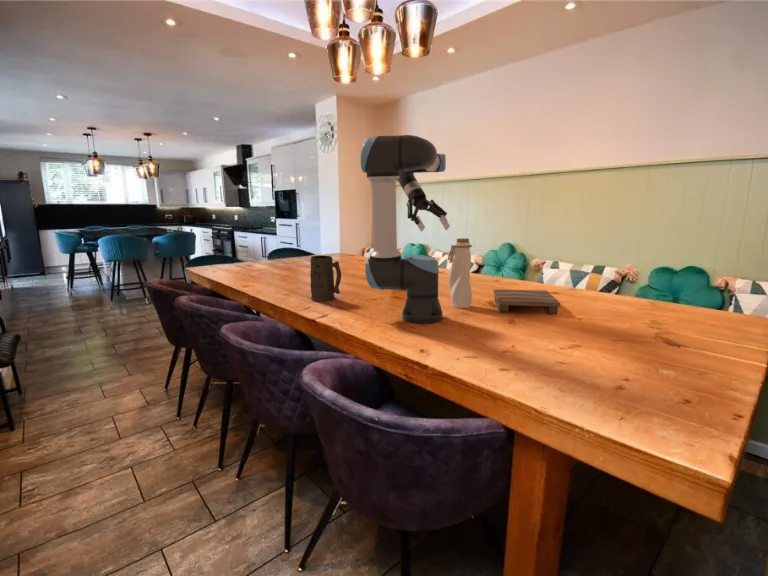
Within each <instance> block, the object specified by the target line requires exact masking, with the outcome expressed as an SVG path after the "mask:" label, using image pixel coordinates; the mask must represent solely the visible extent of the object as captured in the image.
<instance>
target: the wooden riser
mask: <svg viewBox="0 0 768 576" xmlns="http://www.w3.org/2000/svg"><path fill="white" fill-rule="evenodd" d="M493 295H494V302H495V306H496V307H497V309H498V311H499V313H500V314H509V306H525V307H526V306H528V307H529V306H530V307H531V306H532V307H535V306H536V307H541V308H542V309H543V310H544V311H545V312H546V314H547V315H550V316H552V315H553V316H554V315H556V316H557V315H558V307H561V302H560V301H559V300H558V299H557V298H556V297H555V296H553V295H552V294H551V292H549V291H548V290H546V289H545V290H543V289H542V290H541V289H535V290H534V289H532V290H531V289H500V288H499V289H498V288H497V289H496V288H494V289H493Z"/></svg>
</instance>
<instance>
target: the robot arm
mask: <svg viewBox="0 0 768 576" xmlns="http://www.w3.org/2000/svg"><path fill="white" fill-rule="evenodd" d="M446 160H447V159H446V154H444V153H438V152H437V148H436V146H435V145H434V143H432V142H431V141H429V140H427V139H425V138H423V137H420V136H418V135H412V134H404V135H400V134H399V135H376V136H371V137H368V138H367V137H366V139H365V140H364V141H363V143H362V147H361V151H360V168H361V171H362V172H363V173H365V174H366V179H367V180H368V181H369V182H370V183H371V207H372V208H371V209H372V210H371V211H372V234H373V236H372V237H373V238H372V239H373V241H372V242H373V250H372V251H371V253H369V257H368V258H366V260H365V264H364V266H365V267H364V271H365V273H364V274H365V278H366V281H367V284H368V285H369V287H370V288H372V289H374V290H381V291H385V290H386V291H387V290H391V291H406V300H405V302H404V305H403V309H402V312H401V319H402V320H404V321H406V322H409V323H414V324H433V323H437V322H441V321H443V317H444V316H443V315H444V314H443V309H442V306H441V303H440V299H439V273H440V270H439V260H438V259H436V258H434V257H432V256H429V255H421V254H408V255H406V258H402V253H401V252H400V251H399V250H398V235H397V234H398V233H397V230H398V229H397V189H396V187H397V186H396V185H397V184H396V183H397V182H398V184H399V185H400V187H401V188H402V190H403V192H404V193H405V195H406V197H407V199H408V200H407V202H406V207H407V219H410V221H411V222H414V223H415V225H417V228H418V229H419V231H420V233H421V232H423V231H424V230H425V228H426V226H425V225H424V223H423V221H422V220H421V218H420V216H419V215H418V213H419V211H427V212H430V213H431V214H433V216H436V217H437V218H438V219H439V221H440V223H441V225H442V227H443V228H444V230H445V231H448V230H449V228H450V227H451V225H450V224H449V222H448V220H447V219H448V218H447V217H446V216H447V215H448V212H447V211H445V210H444V208H442V207H441V206H439V204H437V203H436V202H435V200H434V199H430V200H428V199H427V195H426V193H425V191H424V189H423V188H422V186H421V184H420V183H419V182H418V180H417V179H416V176H415V174H417V173H418V174H420V173H444V172H445V171H446V168H447V167H446V163H447V162H446ZM413 207H414V211H413Z"/></svg>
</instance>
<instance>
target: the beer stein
mask: <svg viewBox="0 0 768 576" xmlns="http://www.w3.org/2000/svg"><path fill="white" fill-rule="evenodd" d="M309 262H310V294H311V297H310V300H311V301H313V302H318V301H324V302H329V300H330V301H333V300H335V298H336V297H335V295H339V294H341V293H340V292H341V291H340V289H339V287H340V284H341V281H342V280H341V279H342V271H341V267H340V262H339V261H334V262H333V257H332V256H331V255H330V256H329V255H313V256H310V260H309ZM333 268H335V272H336V279H335V277H334V269H333Z"/></svg>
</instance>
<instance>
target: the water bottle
mask: <svg viewBox="0 0 768 576" xmlns="http://www.w3.org/2000/svg"><path fill="white" fill-rule="evenodd" d="M450 246H451V247H450V250H449V253H448V256H447V260H448V261H449V262H448V263H449V264H451V266H450V271H449V274H448V275H449V276H448V286H449V291H450V293H449V294H450V298H451V299H450V300H451V307H452V308H456V309H468V308H470V307H471V305H472V300H473V291H472V285H471V278H470V277H471V275H470V274H471V270H470V269H471V264H472V254H471V253H472V252H471V248H472V247H473V246H472V245H471V242H470V239H469V238H456V242H455V245H454V244H452V245H450Z"/></svg>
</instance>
